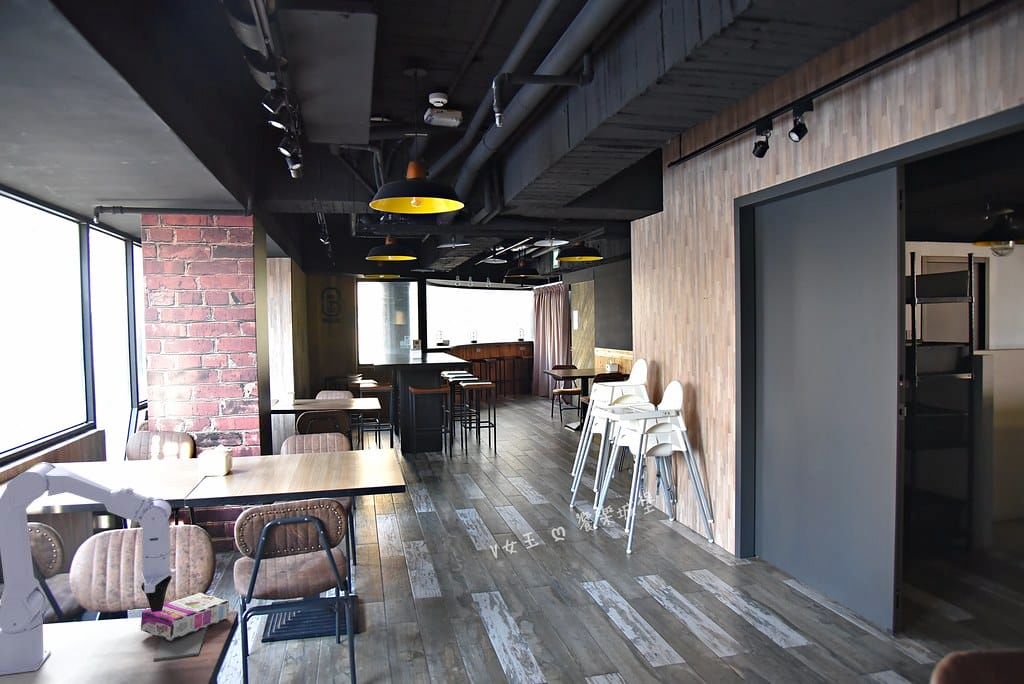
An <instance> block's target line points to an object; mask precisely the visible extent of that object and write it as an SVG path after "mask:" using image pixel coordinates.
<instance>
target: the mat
mask: <svg viewBox="0 0 1024 684" xmlns="http://www.w3.org/2000/svg"><path fill="white" fill-rule="evenodd" d="M206 630H207V631H208V628H207V627H205V628H202V629H200V630H197V631H195V632H192V633H189V634H187V635H184V636H182V637H179V638H177V639H174V640H172V641H170V640H167V639H164V638H162V640H161V641H160V643H159V646H158V648H157V650H156V652H155V654H154V655H153V656H154V657H153V661H163V660H172V659H178V658H186V656H187V657H193V656H194V655H195V656H199V655H200V651H201V649H200V648H202V646H201V645H203V643H204V640H203V639H205V637H204V636H206V634H205V633H207V631H206Z"/></svg>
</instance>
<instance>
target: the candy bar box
mask: <svg viewBox="0 0 1024 684" xmlns="http://www.w3.org/2000/svg"><path fill="white" fill-rule="evenodd" d="M229 604H230V600H228V599H224V598H221V597H218V596H214V595H209V594H207V593H203V592H196V593H195V594H191V595H188V596H184V597H182V598H178V599H176V600H173V601H170V602H167V603H164V605H163V609H162V611H159V612H152V611H151V609H150V608H149V609H145V610H142V611H141V621H140V631H141V632H145V633H147V634H151V635H152V636H156V637H159V638H162V639H163V638H164V639H167V640H170V641H172V640H174V639H177V638H179V637H182V636H184V635H187V634H189V633H192V632H195V631H197V630H200V629H202V628H205V627H210V626H213V625H216V624H218V623H220V622H223V621H226V620H228V619H229ZM226 615H227V616H226Z"/></svg>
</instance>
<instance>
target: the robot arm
mask: <svg viewBox="0 0 1024 684" xmlns="http://www.w3.org/2000/svg"><path fill="white" fill-rule="evenodd" d="M46 492H47V497H50V496H55V495H60V494H64V493H67V494H72V495H75V496H78V497H81V498H84V499H87V500H90V501H94V502H97V503H100V504H102V505H104V506H105V508H106V512H108V513H111V514H114V515H115V516H118V517H121V518H124V519H127V520H130V521H132V522H135V523H138V524H139V526H140V528H142V536H141V545H142V546H141V547H142V548H141V553H142V554H141V558H142V561H141V562H142V564H141V565H142V568H141V569H142V572H141V579H142V583H141V586H140V588H141V590H142V592H143V593H144V594H145V596H146V598H147V602H148V605H149V609H151V611H152V612H159V611H162V609H163V605H164V604H165V600H166V594H167V590H168V587H169V585H170V583H171V580H172V577H173V576H172V575H175V574H176V573H177V569H176V568H172V567H171V531H170V521H169V518H170V517H171V514H172V506H171V504H170V503H169V502H168V501H167V500H164V498H160V497H159V498H154V497H153V496H148V497H147V496H145V495H142V494H139V493H137V492H134V488H132V487H129V486H128V487H126V488H124V487H119V488H116V489H111V488H109V487H107V486H105V485H102V484H100V483H97V482H95V481H93V480H91V479H88V478H86V477H83V476H81V475H79V474H77V473H75V472H72V471H70V470H69V469H66V468H65V467H63V466H58V465H57V466H56V465H55V464H52V463H50V462H44V461H43V462H38V463H36V464H34V465H31V467H29V468H28V469H27V470H25V471H23V472H21V473H20V474H18V475H16V476H15V477H14V478H12V479H11V480H10V481H9V482H8V483H6V487H5V490H4V491H3V493H2V494H1V496H0V559H1V566H2V576H3V583H4V588H3V591H2V594H1V597H0V676H2V675H10V674H12V675H13V674H19V673H28V672H35V671H38V670H39V669H40V667H41V666H42V665H43V663H45V661H46V660H47V659H48V657H49V655H50V654H51V652H52V651H51V649H50V650H44V625H43V623H44V618H43V616H42V614H41V610H42V609H43V608H44V606H45V604H46V602H47V597H46V594H45V593H44V590H42V588H41V586H40V581H39V580H38V579H37V578H36V577H35V573H34V566H33V557H32V549H31V541H30V540H31V539H30V533H29V525H28V513H27V508H28V507H29V506H30V505H31V504H33V502H35V501H36V500H37V499H39V498H41V497H42V496H43V495H44V494H45V493H46Z"/></svg>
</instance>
